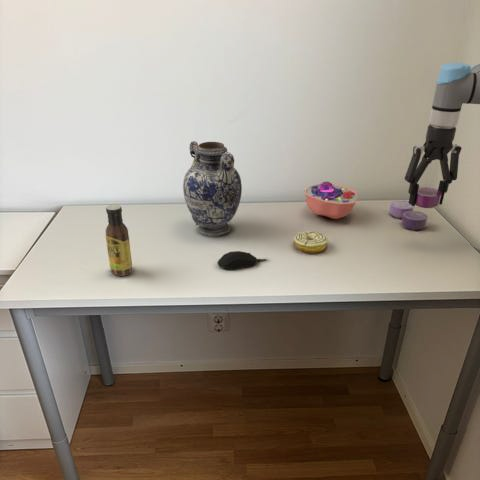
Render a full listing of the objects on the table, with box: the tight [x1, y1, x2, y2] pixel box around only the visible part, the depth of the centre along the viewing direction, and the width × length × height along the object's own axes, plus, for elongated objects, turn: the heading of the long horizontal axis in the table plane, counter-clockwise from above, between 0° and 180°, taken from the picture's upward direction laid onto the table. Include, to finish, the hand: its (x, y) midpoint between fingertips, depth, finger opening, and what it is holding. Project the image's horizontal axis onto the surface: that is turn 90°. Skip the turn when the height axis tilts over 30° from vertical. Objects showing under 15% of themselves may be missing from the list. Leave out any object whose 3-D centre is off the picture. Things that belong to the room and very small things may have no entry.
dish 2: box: [415, 186, 442, 209], centre depth 154 cm, size 8×8×4 cm
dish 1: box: [388, 199, 415, 219], centre depth 181 cm, size 8×8×4 cm
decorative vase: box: [182, 140, 243, 237], centre depth 164 cm, size 21×19×28 cm
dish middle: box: [400, 210, 429, 231], centre depth 173 cm, size 8×8×4 cm
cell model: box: [304, 180, 358, 220], centre depth 179 cm, size 17×20×11 cm
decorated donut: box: [293, 231, 329, 254], centre depth 160 cm, size 10×11×4 cm
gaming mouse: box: [217, 250, 267, 270], centre depth 151 cm, size 6×15×4 cm, turn 107°
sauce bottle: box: [105, 203, 133, 277], centre depth 142 cm, size 6×6×20 cm
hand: (425, 203), depth 155 cm, fingers closed on dish 2, 8 cm apart
